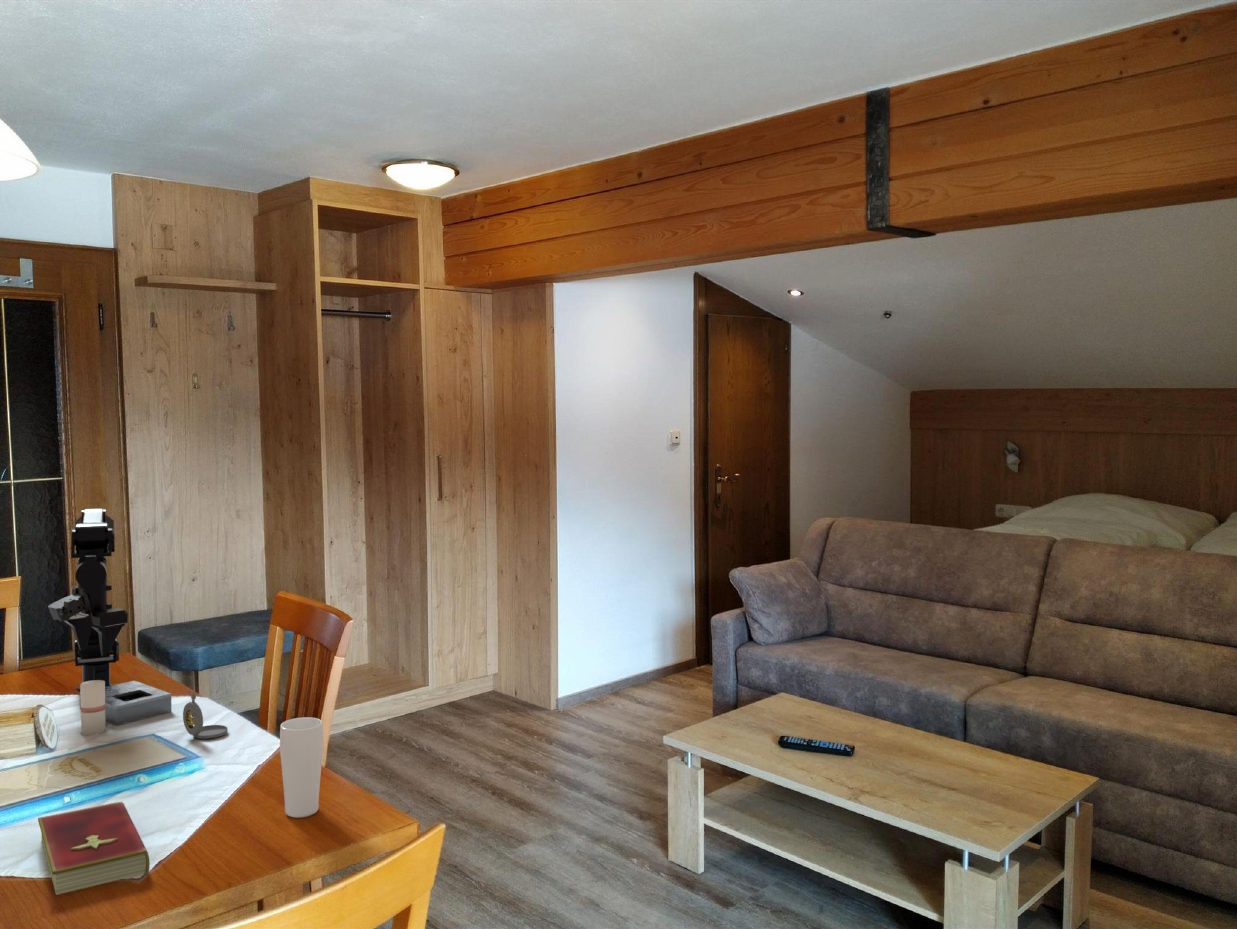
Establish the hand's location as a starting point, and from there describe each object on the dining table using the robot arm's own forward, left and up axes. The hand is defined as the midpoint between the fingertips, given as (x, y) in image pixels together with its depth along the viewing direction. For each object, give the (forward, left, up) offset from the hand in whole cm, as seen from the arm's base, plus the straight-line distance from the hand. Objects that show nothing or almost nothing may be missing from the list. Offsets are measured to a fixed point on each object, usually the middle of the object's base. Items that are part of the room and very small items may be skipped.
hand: (93, 652), depth 211 cm
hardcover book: (+70, -33, -13) cm, 78 cm away
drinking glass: (+81, -4, -13) cm, 82 cm away
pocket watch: (+34, +6, -13) cm, 37 cm away
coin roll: (+14, -7, -13) cm, 20 cm away
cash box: (+6, +4, -13) cm, 15 cm away
